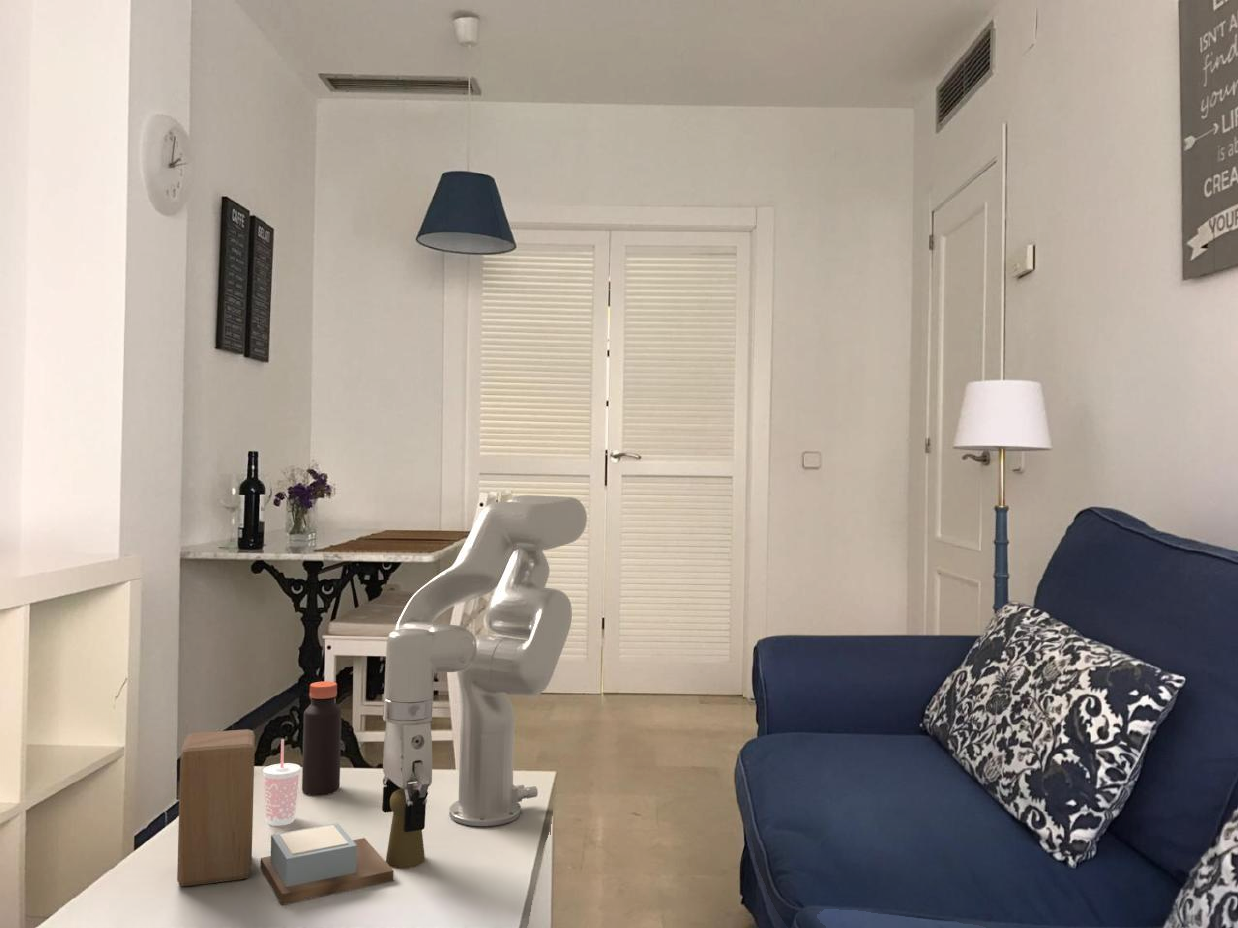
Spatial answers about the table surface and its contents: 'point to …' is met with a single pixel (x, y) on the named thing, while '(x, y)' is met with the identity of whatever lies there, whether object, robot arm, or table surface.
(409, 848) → the olive pawn
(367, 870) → the brown board
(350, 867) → the slate plinth
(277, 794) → the beverage cup
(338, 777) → the bottle
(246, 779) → the block
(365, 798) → the table surface
